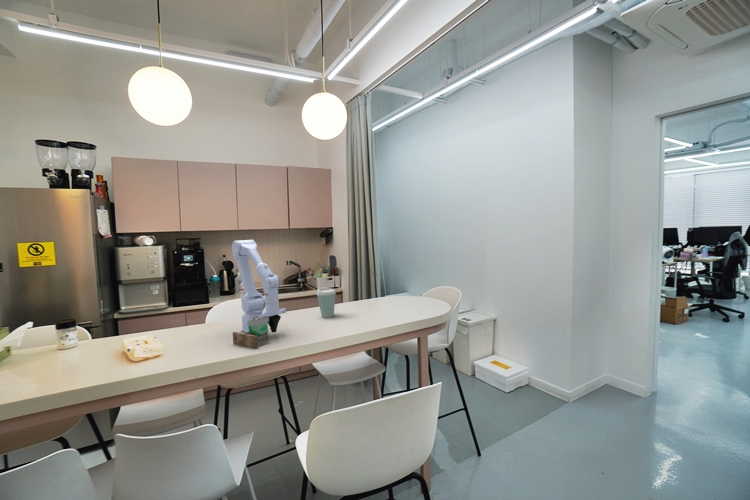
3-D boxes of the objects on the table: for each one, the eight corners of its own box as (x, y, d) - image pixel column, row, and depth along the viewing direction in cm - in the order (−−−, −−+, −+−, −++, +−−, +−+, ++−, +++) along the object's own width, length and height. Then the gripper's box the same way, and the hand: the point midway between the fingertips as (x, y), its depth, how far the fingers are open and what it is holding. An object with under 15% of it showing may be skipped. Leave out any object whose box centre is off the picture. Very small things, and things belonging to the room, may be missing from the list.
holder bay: (233, 344, 141) (232, 332, 141) (247, 338, 147) (246, 327, 147) (256, 348, 134) (255, 336, 134) (269, 343, 140) (269, 331, 140)
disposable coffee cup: (341, 315, 183) (339, 288, 182) (328, 320, 174) (326, 291, 173) (326, 313, 188) (325, 287, 187) (313, 317, 179) (311, 290, 178)
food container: (262, 344, 139) (260, 321, 138) (248, 344, 140) (246, 321, 139) (275, 335, 151) (274, 313, 151) (262, 335, 152) (261, 313, 151)
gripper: (265, 306, 143) (267, 337, 143) (290, 299, 155) (291, 328, 156) (254, 305, 146) (256, 335, 147) (279, 298, 159) (280, 326, 159)
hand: (273, 331), depth 152 cm, fingers closed
